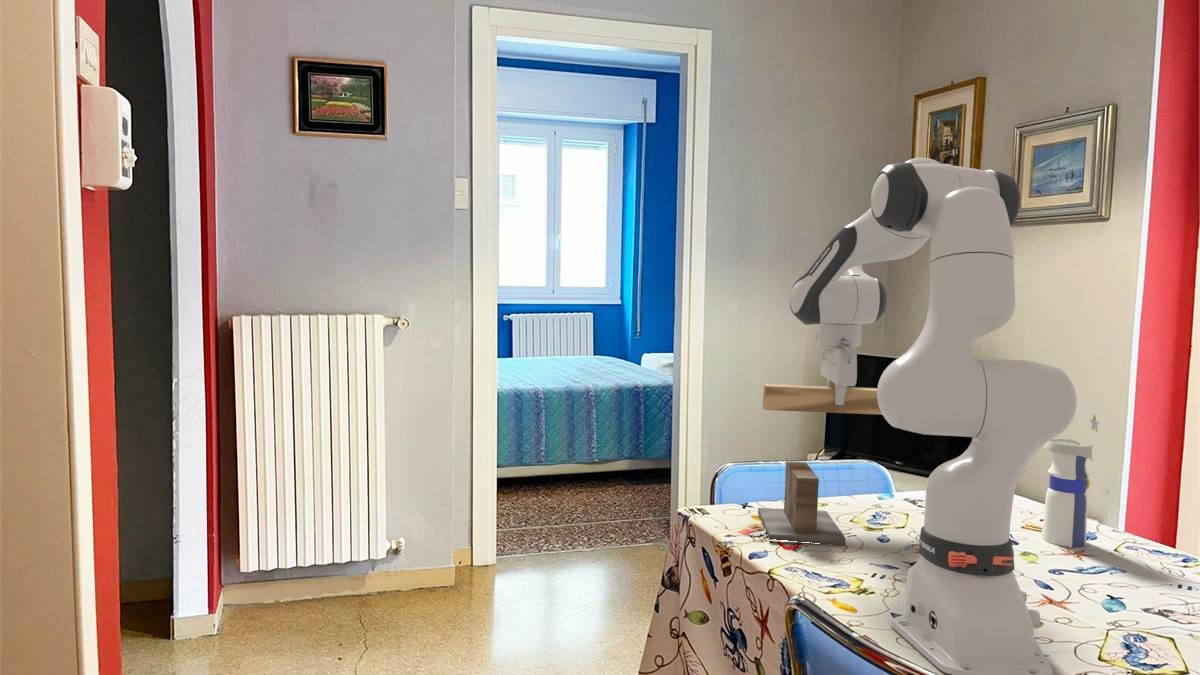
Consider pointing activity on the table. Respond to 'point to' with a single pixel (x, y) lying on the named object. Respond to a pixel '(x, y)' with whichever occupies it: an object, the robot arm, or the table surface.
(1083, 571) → the table surface
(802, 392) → the oak rod
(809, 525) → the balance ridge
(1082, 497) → the water bottle
